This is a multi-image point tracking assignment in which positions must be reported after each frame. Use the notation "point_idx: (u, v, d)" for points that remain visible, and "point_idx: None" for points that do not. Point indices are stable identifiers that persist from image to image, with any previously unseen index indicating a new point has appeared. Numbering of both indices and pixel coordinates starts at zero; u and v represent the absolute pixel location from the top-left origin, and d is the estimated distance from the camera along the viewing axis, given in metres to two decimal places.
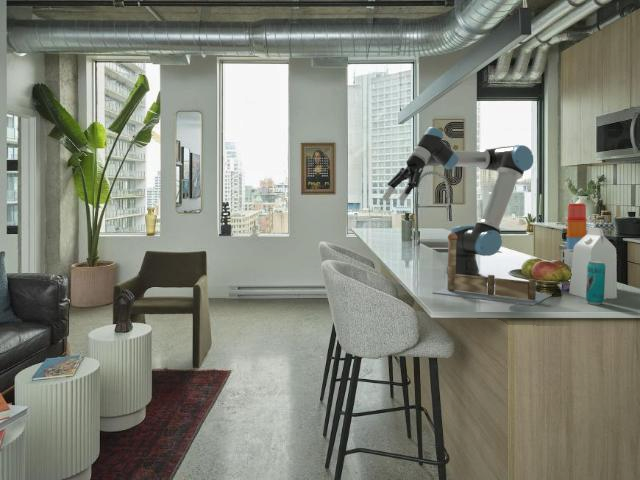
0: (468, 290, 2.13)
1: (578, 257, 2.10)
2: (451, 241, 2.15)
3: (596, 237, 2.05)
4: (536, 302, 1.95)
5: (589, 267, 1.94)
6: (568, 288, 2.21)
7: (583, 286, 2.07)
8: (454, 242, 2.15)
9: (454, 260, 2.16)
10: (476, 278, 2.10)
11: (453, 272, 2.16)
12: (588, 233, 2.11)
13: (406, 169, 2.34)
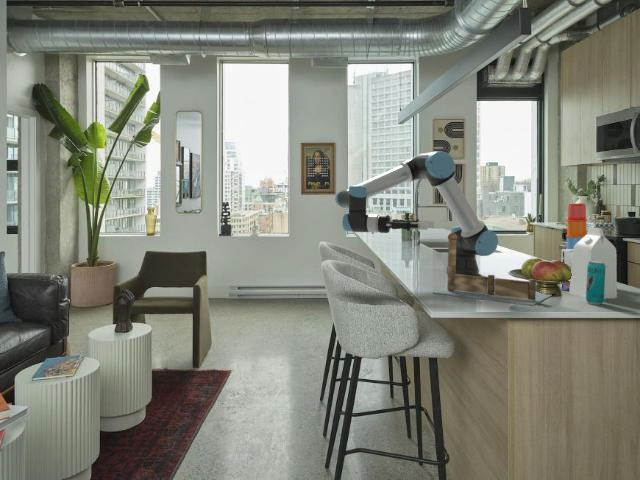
0: (468, 290, 2.13)
1: (578, 257, 2.10)
2: (451, 241, 2.15)
3: (596, 237, 2.05)
4: (536, 302, 1.95)
5: (589, 267, 1.94)
6: (568, 288, 2.21)
7: (583, 286, 2.07)
8: (454, 242, 2.15)
9: (454, 260, 2.16)
10: (476, 278, 2.10)
11: (453, 272, 2.16)
12: (588, 233, 2.11)
13: None
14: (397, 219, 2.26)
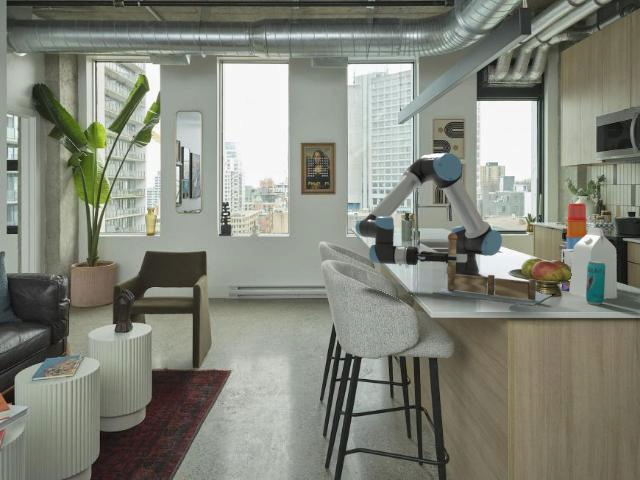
0: (468, 290, 2.13)
1: (578, 257, 2.10)
2: (451, 241, 2.15)
3: (596, 237, 2.05)
4: (536, 302, 1.95)
5: (589, 267, 1.94)
6: (568, 288, 2.21)
7: (583, 286, 2.07)
8: (454, 242, 2.15)
9: None
10: (476, 278, 2.10)
11: (453, 272, 2.16)
12: (588, 233, 2.11)
13: None
14: (425, 251, 2.22)
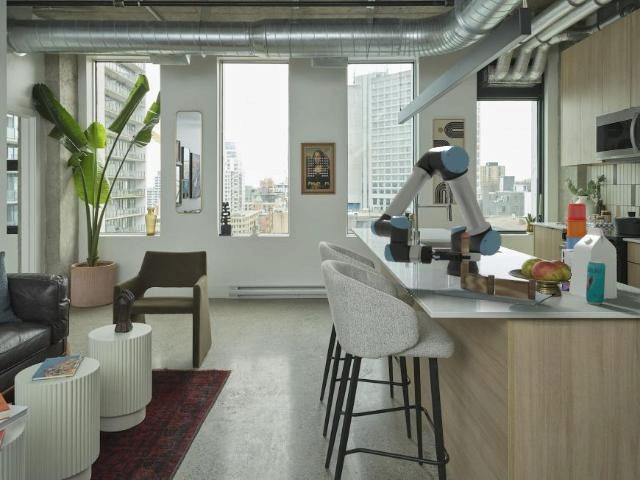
0: (474, 289, 2.16)
1: (578, 257, 2.10)
2: (462, 240, 2.20)
3: (596, 237, 2.05)
4: (536, 302, 1.95)
5: (589, 267, 1.94)
6: (568, 288, 2.21)
7: (583, 286, 2.07)
8: (465, 241, 2.20)
9: None
10: (480, 277, 2.12)
11: (464, 270, 2.21)
12: (588, 233, 2.11)
13: None
14: (439, 250, 2.27)
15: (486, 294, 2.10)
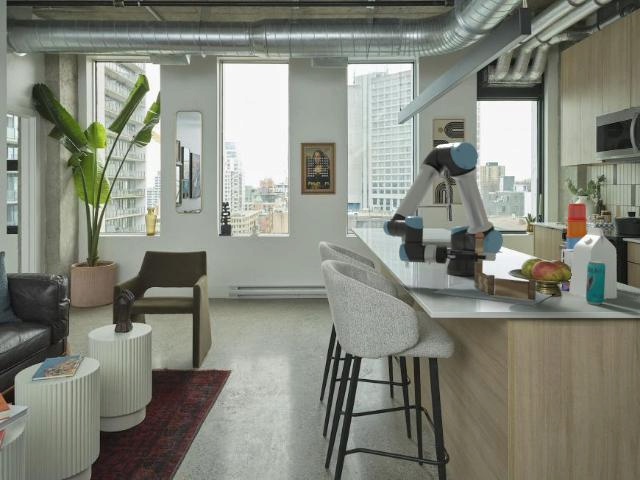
0: (482, 288, 2.17)
1: (578, 257, 2.10)
2: (476, 239, 2.22)
3: (596, 237, 2.05)
4: (536, 302, 1.95)
5: (589, 267, 1.94)
6: (568, 288, 2.21)
7: (583, 286, 2.07)
8: (478, 241, 2.21)
9: None
10: (484, 277, 2.13)
11: (477, 270, 2.22)
12: (588, 233, 2.11)
13: None
14: (454, 250, 2.28)
15: (486, 294, 2.10)
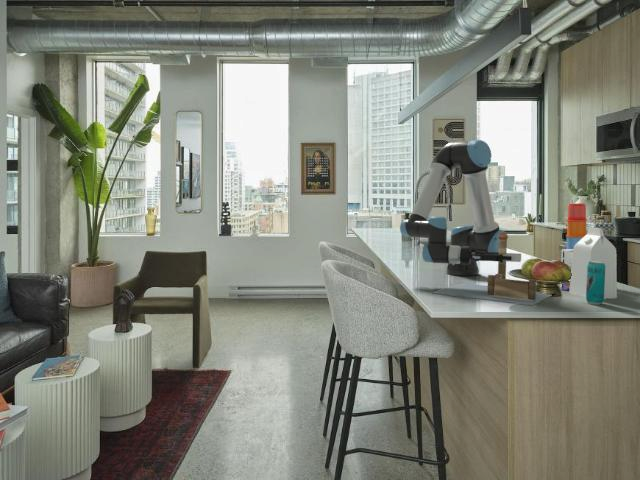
0: None
1: (578, 257, 2.10)
2: (499, 240, 2.21)
3: (596, 237, 2.05)
4: (536, 302, 1.95)
5: (589, 267, 1.94)
6: (568, 288, 2.21)
7: (583, 286, 2.07)
8: (500, 241, 2.19)
9: None
10: None
11: (499, 270, 2.21)
12: (588, 233, 2.11)
13: None
14: (478, 251, 2.25)
15: (486, 294, 2.10)
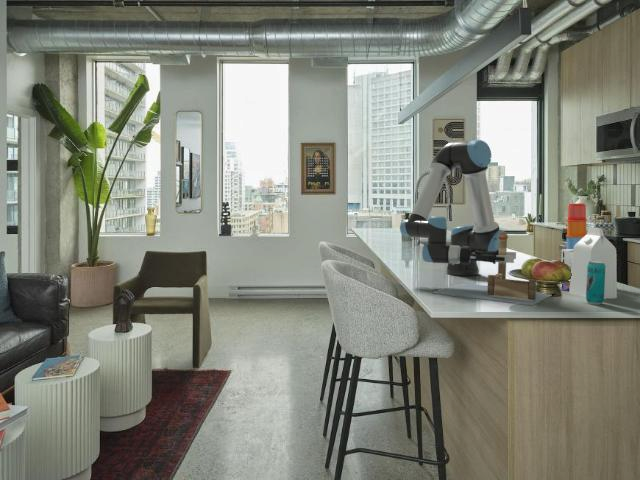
0: None
1: (578, 257, 2.10)
2: (499, 240, 2.21)
3: (596, 237, 2.05)
4: (536, 302, 1.95)
5: (589, 267, 1.94)
6: (568, 288, 2.21)
7: (583, 286, 2.07)
8: (500, 241, 2.19)
9: None
10: None
11: (499, 270, 2.21)
12: (588, 233, 2.11)
13: None
14: (479, 250, 2.25)
15: (486, 294, 2.10)
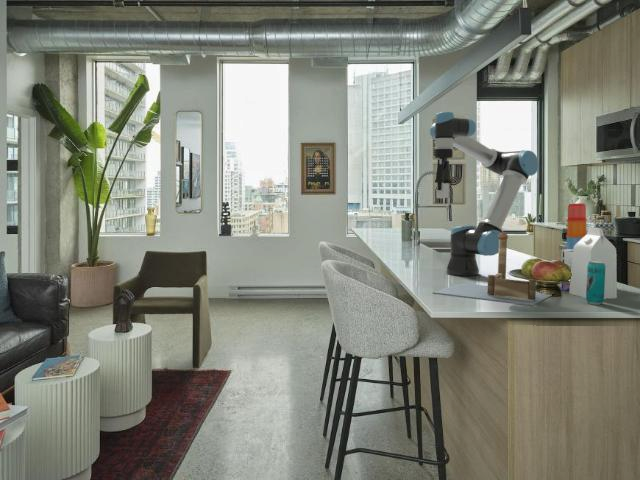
0: None
1: (578, 257, 2.10)
2: (499, 240, 2.21)
3: (596, 237, 2.05)
4: (536, 302, 1.95)
5: (589, 267, 1.94)
6: (568, 288, 2.21)
7: (583, 286, 2.07)
8: (500, 241, 2.19)
9: (500, 259, 2.20)
10: None
11: (499, 270, 2.21)
12: (588, 233, 2.11)
13: None
14: (448, 165, 2.38)
15: (486, 294, 2.10)
